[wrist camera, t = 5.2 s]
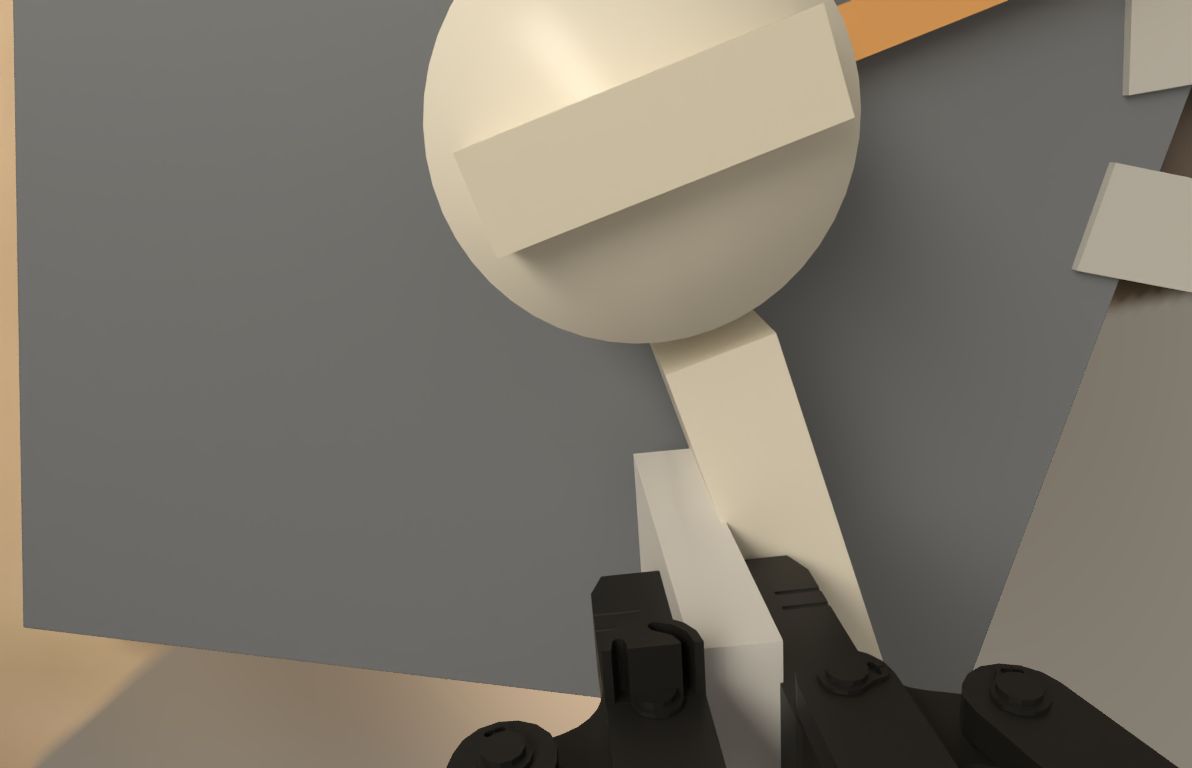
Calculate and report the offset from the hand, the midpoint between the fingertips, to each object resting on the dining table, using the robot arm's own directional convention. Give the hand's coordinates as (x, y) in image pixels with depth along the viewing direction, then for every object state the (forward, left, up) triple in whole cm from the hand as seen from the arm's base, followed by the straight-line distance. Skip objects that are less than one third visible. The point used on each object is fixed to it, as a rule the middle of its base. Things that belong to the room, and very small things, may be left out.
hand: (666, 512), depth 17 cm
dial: (+4, +7, -2) cm, 8 cm away
